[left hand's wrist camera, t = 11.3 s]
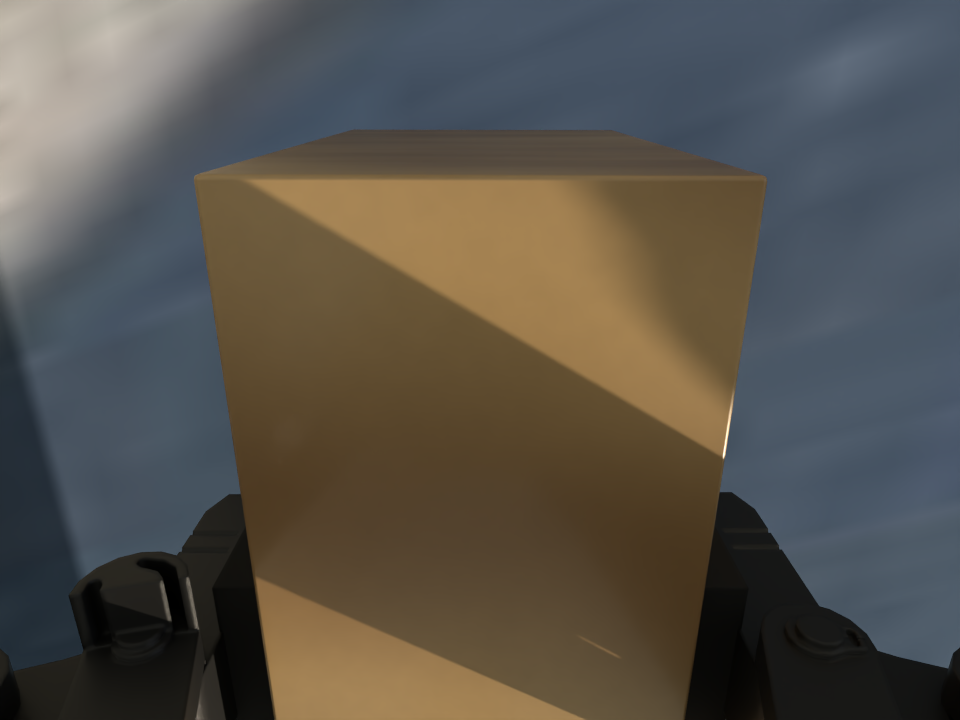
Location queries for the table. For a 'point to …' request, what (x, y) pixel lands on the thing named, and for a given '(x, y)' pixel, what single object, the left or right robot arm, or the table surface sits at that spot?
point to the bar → (480, 414)
